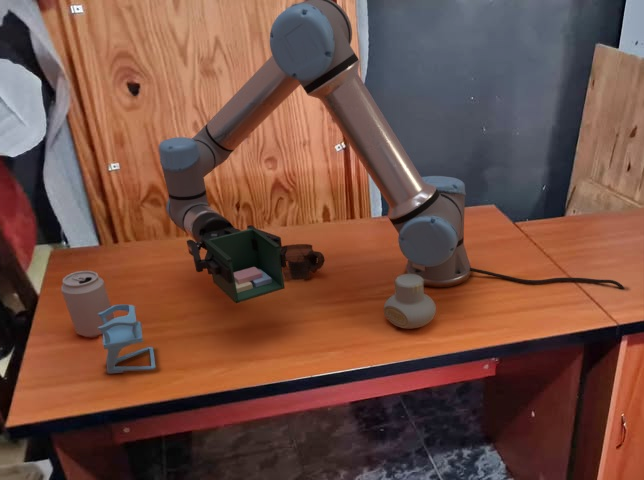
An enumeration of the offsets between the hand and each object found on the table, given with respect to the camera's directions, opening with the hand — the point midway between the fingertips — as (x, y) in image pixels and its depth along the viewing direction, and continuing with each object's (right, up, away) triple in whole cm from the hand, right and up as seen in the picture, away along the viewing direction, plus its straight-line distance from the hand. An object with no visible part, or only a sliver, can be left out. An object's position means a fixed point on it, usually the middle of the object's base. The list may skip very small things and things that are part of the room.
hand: (257, 268), depth 126 cm
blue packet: (-2, -1, +8) cm, 8 cm away
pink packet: (-4, -1, +6) cm, 8 cm away
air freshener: (+27, -9, +18) cm, 34 cm away
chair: (-24, -18, +2) cm, 31 cm away
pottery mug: (0, +4, +35) cm, 36 cm away
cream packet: (-5, -3, +5) cm, 8 cm away
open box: (-4, -2, +7) cm, 8 cm away
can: (-36, -11, +12) cm, 40 cm away
